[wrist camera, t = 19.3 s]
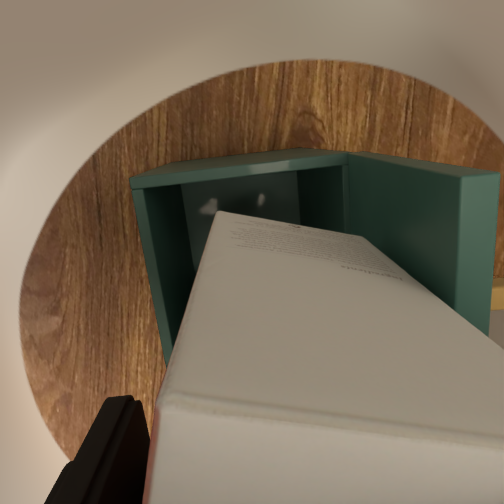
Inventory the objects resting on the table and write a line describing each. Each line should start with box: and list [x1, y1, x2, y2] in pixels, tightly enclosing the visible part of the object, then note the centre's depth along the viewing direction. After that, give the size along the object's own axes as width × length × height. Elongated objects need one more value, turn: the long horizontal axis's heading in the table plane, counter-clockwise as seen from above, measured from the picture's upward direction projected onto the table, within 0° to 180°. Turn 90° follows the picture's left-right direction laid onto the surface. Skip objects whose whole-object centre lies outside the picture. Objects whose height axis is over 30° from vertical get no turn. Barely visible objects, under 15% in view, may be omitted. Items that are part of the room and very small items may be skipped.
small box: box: [142, 211, 504, 504], centre depth 10 cm, size 8×6×10 cm
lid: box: [348, 151, 504, 338], centre depth 15 cm, size 12×11×5 cm
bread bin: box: [129, 148, 353, 369], centre depth 28 cm, size 11×11×15 cm
